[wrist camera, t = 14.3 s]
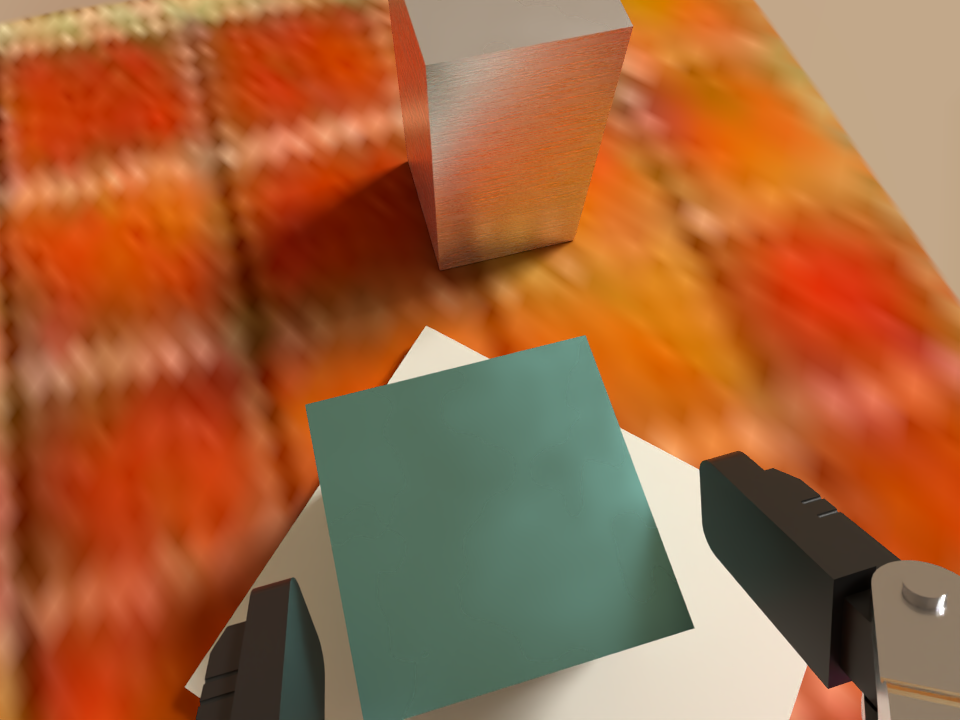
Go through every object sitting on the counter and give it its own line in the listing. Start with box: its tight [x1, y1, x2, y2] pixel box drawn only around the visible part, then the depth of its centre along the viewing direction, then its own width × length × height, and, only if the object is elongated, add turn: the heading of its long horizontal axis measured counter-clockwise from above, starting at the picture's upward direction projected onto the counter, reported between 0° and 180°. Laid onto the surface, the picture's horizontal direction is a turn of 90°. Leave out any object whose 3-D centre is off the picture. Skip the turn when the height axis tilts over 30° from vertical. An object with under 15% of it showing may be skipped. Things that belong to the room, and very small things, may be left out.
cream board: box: [185, 326, 807, 720], centre depth 18 cm, size 14×12×1 cm
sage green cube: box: [305, 336, 694, 720], centre depth 16 cm, size 6×6×6 cm
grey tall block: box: [388, 0, 633, 270], centre depth 20 cm, size 5×5×9 cm
